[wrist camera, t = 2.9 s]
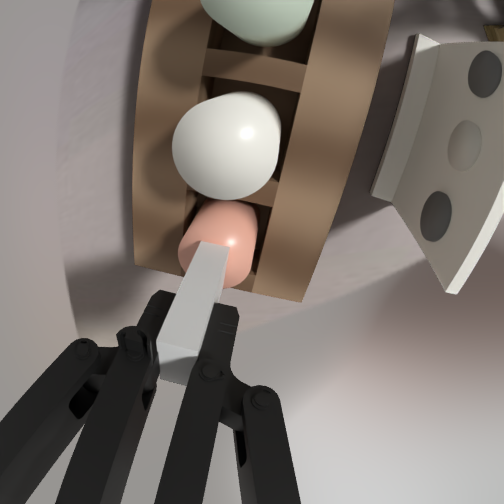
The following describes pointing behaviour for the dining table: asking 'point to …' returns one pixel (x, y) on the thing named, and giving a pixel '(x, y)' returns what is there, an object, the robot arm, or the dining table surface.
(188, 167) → the white rounded cylinder
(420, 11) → the dining table surface
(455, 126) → the pattern card
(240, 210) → the peach rounded capsule
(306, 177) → the brown wooden tray
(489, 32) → the eiffel tower
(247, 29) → the pale green rounded piece
